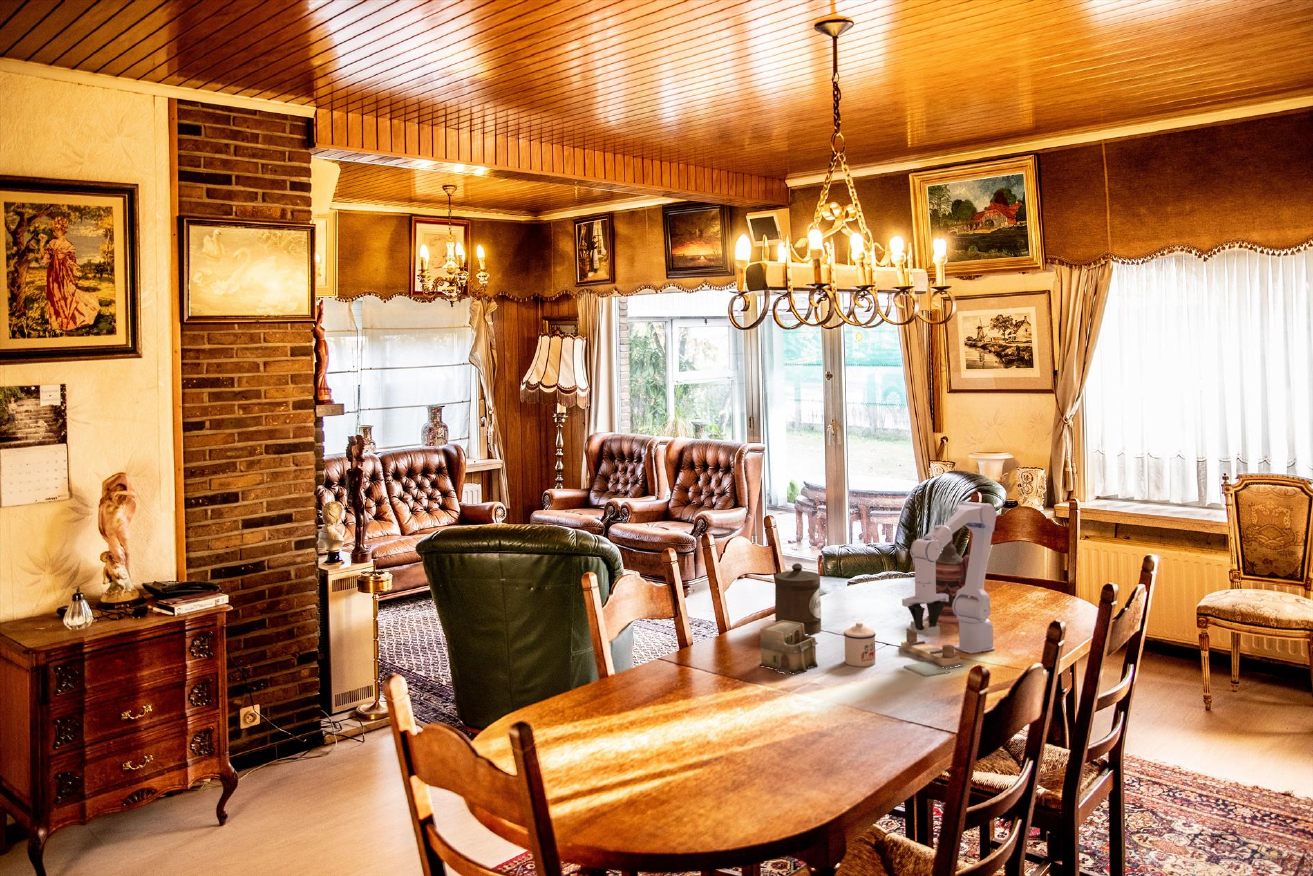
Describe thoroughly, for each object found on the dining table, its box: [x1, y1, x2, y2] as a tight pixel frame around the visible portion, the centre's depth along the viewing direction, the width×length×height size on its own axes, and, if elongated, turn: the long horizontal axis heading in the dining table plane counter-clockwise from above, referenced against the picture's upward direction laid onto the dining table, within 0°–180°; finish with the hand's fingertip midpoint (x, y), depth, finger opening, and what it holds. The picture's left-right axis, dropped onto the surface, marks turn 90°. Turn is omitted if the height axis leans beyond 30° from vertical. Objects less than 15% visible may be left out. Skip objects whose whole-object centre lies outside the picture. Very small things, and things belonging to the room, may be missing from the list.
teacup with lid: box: [843, 621, 876, 668], centre depth 287 cm, size 12×9×12 cm
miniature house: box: [758, 620, 819, 675], centre depth 284 cm, size 15×14×11 cm
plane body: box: [898, 627, 964, 670], centre depth 288 cm, size 22×6×6 cm, turn 22°
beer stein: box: [926, 538, 978, 624], centre depth 330 cm, size 17×28×18 cm
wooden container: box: [774, 562, 822, 635], centre depth 323 cm, size 15×15×22 cm
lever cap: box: [910, 619, 941, 638], centre depth 282 cm, size 8×4×3 cm, turn 21°
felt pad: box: [903, 661, 950, 677], centre depth 277 cm, size 8×10×1 cm
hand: (925, 628), depth 282 cm, fingers closed on lever cap, 4 cm apart
